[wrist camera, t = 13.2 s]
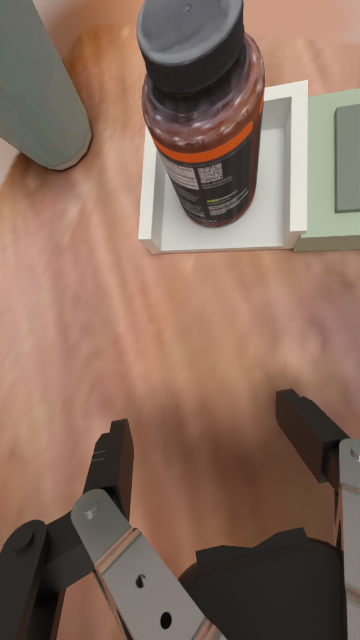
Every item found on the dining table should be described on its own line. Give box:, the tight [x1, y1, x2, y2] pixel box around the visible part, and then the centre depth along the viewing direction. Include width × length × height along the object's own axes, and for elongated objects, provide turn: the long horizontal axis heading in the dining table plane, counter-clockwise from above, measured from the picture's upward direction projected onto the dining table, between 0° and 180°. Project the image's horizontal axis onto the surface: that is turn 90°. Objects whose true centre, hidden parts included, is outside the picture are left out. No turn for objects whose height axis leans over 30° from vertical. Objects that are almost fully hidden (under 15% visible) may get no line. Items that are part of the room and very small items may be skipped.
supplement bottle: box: [137, 0, 265, 226], centre depth 14 cm, size 6×6×11 cm
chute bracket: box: [138, 80, 308, 254], centre depth 19 cm, size 12×10×3 cm
